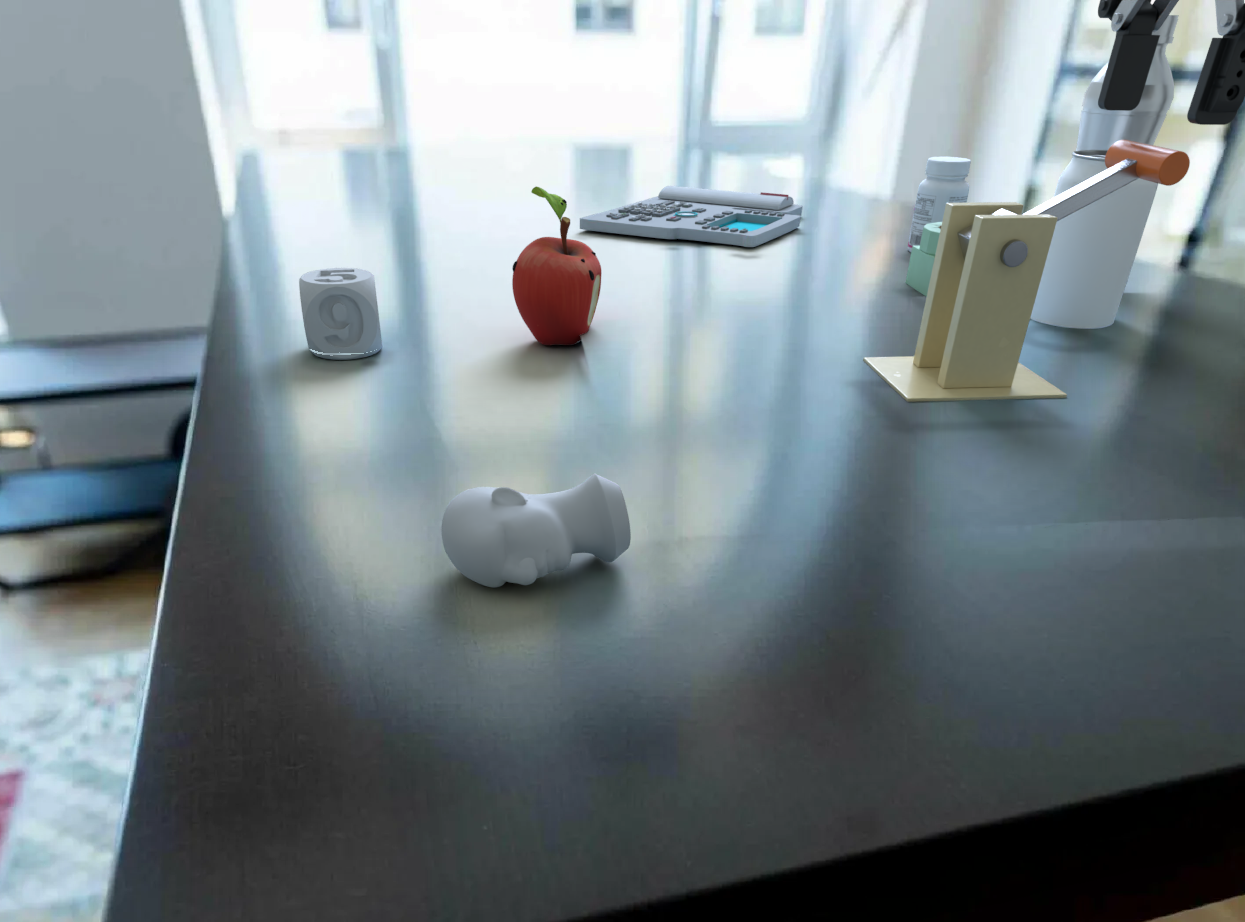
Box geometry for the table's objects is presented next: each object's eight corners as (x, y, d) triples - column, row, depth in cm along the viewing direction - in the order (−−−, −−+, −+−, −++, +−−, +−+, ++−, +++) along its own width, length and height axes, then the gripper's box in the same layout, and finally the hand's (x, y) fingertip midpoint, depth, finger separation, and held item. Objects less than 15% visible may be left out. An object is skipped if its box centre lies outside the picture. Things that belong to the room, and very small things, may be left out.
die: (381, 337, 69) (372, 265, 66) (383, 358, 65) (374, 282, 62) (311, 341, 68) (300, 268, 65) (309, 362, 64) (297, 286, 61)
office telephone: (672, 179, 117) (826, 193, 109) (670, 202, 118) (823, 217, 110) (578, 204, 100) (753, 223, 92) (578, 231, 102) (750, 251, 93)
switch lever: (1135, 167, 56) (1129, 127, 54) (1192, 182, 51) (1187, 138, 50) (954, 263, 58) (945, 226, 57) (994, 285, 53) (985, 246, 52)
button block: (998, 280, 85) (1012, 221, 82) (1038, 302, 79) (1055, 238, 76) (902, 282, 84) (913, 221, 81) (935, 303, 78) (948, 239, 75)
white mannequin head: (444, 619, 40) (449, 533, 43) (632, 611, 40) (623, 526, 43) (431, 548, 36) (437, 460, 39) (637, 540, 36) (627, 454, 39)
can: (1075, 347, 68) (1131, 163, 61) (1001, 325, 73) (1046, 152, 66) (1127, 334, 71) (1186, 157, 64) (1053, 314, 76) (1101, 146, 69)
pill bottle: (953, 248, 96) (973, 156, 91) (957, 258, 92) (978, 163, 87) (905, 246, 97) (922, 154, 92) (907, 255, 93) (925, 161, 88)
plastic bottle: (1076, 300, 79) (1161, 15, 68) (1016, 282, 84) (1086, 14, 73) (1130, 293, 81) (1222, 15, 70) (1069, 276, 86) (1144, 14, 75)
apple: (625, 343, 68) (629, 192, 62) (558, 363, 64) (556, 204, 58) (553, 321, 73) (551, 179, 67) (486, 339, 69) (477, 189, 63)
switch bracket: (1002, 371, 63) (1048, 197, 57) (1061, 413, 57) (1121, 221, 51) (860, 375, 63) (891, 198, 56) (903, 417, 56) (944, 223, 50)
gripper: (1504, -338, 37) (1315, 131, 46) (1259, -255, 48) (1147, 106, 58) (1327, -347, 36) (1172, 130, 45) (1122, -261, 48) (1032, 105, 57)
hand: (1158, 116), depth 52 cm, fingers open, 8 cm apart
